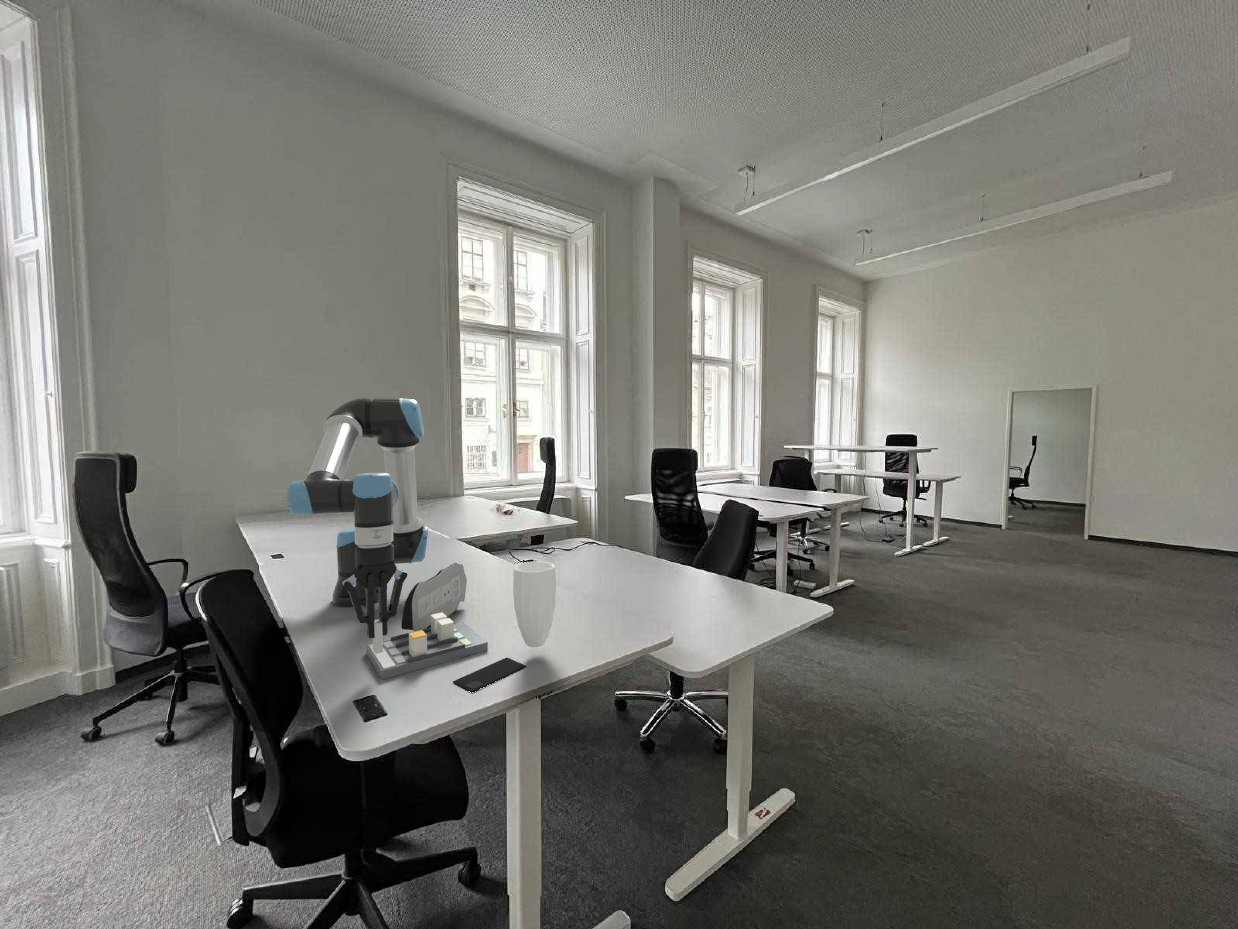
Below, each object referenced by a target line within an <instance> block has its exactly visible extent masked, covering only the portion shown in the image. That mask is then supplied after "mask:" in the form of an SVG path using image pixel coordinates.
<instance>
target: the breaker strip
mask: <svg viewBox="0 0 1238 929" xmlns="http://www.w3.org/2000/svg"><path fill="white" fill-rule="evenodd" d="M418 631H420V630H418ZM423 631H424V632H425V633H426V635H427V654H423V655H419V656H415V657H412V656H411V655H410V654H409V633H412V632H416V631H414V630H413V631H411V632H406V633H402V634H397V635H394V636H390V638H389V639H387V640H383V652H381V653H377V654H375V652H374V651H373V643H371V644H368V645H365V654H366V655H367V658H368V659H369V661H370V662H371V664H372V666H373V667H374V669H375V670H376V672H377V674H378V675H379V677H380V679H381V680H383V681H384V680H386V679H390V678H393V677H396V676H397V677H398V676H400V675H401V676H402V675H405V674H408V673H411V672H415V671H418V670H419V671H420V670H422V669H425V668H428V667H432V666H436V665H440V664H443V663H447V662H450V661H454V660H457V659H460V658H465V657H469V656H472V655H474V654H478V653H482V652H486V651H488V650H489V644H488V641H487V640H486V639H484V638H483V637H482V636H481V635H480V634H478V633H477V632H476V631H475V630H474V629H472V628H471V627H470V626H469V625H468V624H466V623H465V622H459V623H455V622H454V620H452V619H451V618H450V617H447V616H446V615H445V614H444V613H443V612H441V613H437V614H432V615H431V624H430V627H427V628H426V629H423Z"/></svg>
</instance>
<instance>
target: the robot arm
mask: <svg viewBox="0 0 1238 929" xmlns="http://www.w3.org/2000/svg"><path fill="white" fill-rule="evenodd" d="M424 428H425V427H424V421H423V415H422V411H421V406H420V404H419V402H418V401H417V400H415V399H413V398H411V399H410V398H402V397H399V398H398V397H391V398H390V397H386V398H385V397H373V398H371V397H360V398H354V399H352V400H349V401H347V402H344V403H343V404H341V405H339V406H338V407H336V408H335V409H334V410H333V411H332V412H331V413H330V414H329V415H328V416H327V418H326V420H325V421H324V424H323V433H324V435H323V437H322V440H321V443H320V445H319V447H318V449H317V451H316V452H317V453H316V454H315V456H314V459H313V461H312V464H311V466H310V468H309V471H308V473H307V475H306V478H305V479H301V480H294V481H292V482H290V483H289V485H288V486H287V492H286V502H287V503H286V504H287V507H288V509H289V511H290V512H291V513H292V514H294V515H295V514H297V515H316V514H334V513H353V515H354V526H350V527H347V528H344V529H342V530H341V531H339V532H338V534H336V554H337V556H336V558H337V575H338V576H337V580H336V583H335V586H334V590H333V593H332V604H333V605H335V606H338V607H352V608H353V610H354V612H355V616H356V617H355V618H357V621H358V622H359V623H360V624H366V635H367V637H368V638H369V639H370V640H372V644H373V651H374V652H375V654H377V653H381V652H383V641H384V640H383V639H384V638H383V637H384V636H387V634H388V622H389V619H391V618H393V617H396V615H397V613H398V607H399V603H400V597H401V594H402V590H403V585H404V582H405V580H406V579H407V578H408V573H407V572H406V571H405V570H401V569H399V568H397V565H398V564H400V565H402V564H412V563H420V562H423V561H424V560H425V559H426V553H427V552H426V551H427V544H428V542H427V541H428V535H429V526H427V525H424V520H423V519H422V518H420V517H419V514H418V512H419V510H418V497H417V496H418V493H417V491H418V490H417V473H416V471H417V470H416V455H415V449H416V447H417V446H418V445H419V444H420V439H422V438H424V437H425V429H424ZM363 438H365V439H377V440H376V441H377V442H376V443H377V446H378V447H380V448H381V449H382V450H383V456H384V457H383V459H384V472H364V473H357V474H355V475H354V476H353V479H345V476H346V473H347V469H348V467H349V464H350V461H351V459H352V458H351V457H352V454H353V451H354V449H355V445H356V444H357V443H358V442H359V441H360V440H361V439H363ZM393 577H394V582H393V586H392V591H391V595H390V599H389V605H388V592H387V591H388V584H389V582H390V581H391V579H392V578H393ZM377 602H378V617H379V619H376V618H375V616H376V614H375V613H376V612H375V603H377ZM362 606H365V614H364V611H363V608H362Z"/></svg>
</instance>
